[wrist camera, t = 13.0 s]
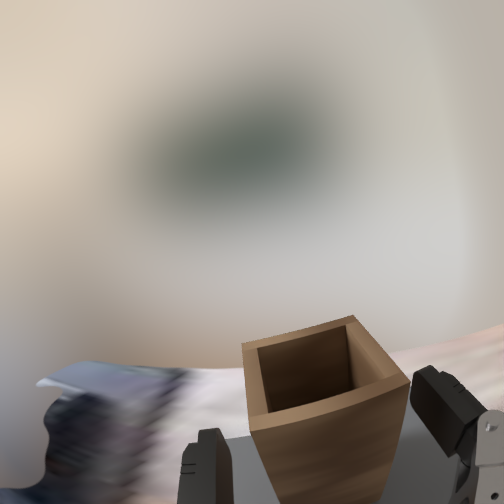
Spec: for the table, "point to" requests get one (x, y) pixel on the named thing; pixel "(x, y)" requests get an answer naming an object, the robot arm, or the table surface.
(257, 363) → the sleeve
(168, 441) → the table surface
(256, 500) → the plate
